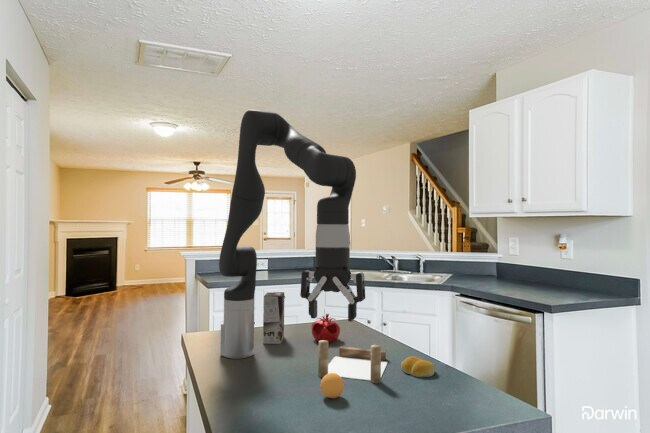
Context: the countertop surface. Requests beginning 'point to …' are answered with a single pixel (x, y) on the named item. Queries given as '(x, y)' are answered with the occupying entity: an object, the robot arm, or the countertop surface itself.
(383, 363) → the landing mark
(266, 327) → the coffee box
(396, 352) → the countertop surface
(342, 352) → the stopper rail
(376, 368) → the post
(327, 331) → the pomegranate
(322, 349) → the post
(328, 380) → the ball
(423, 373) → the bread roll
